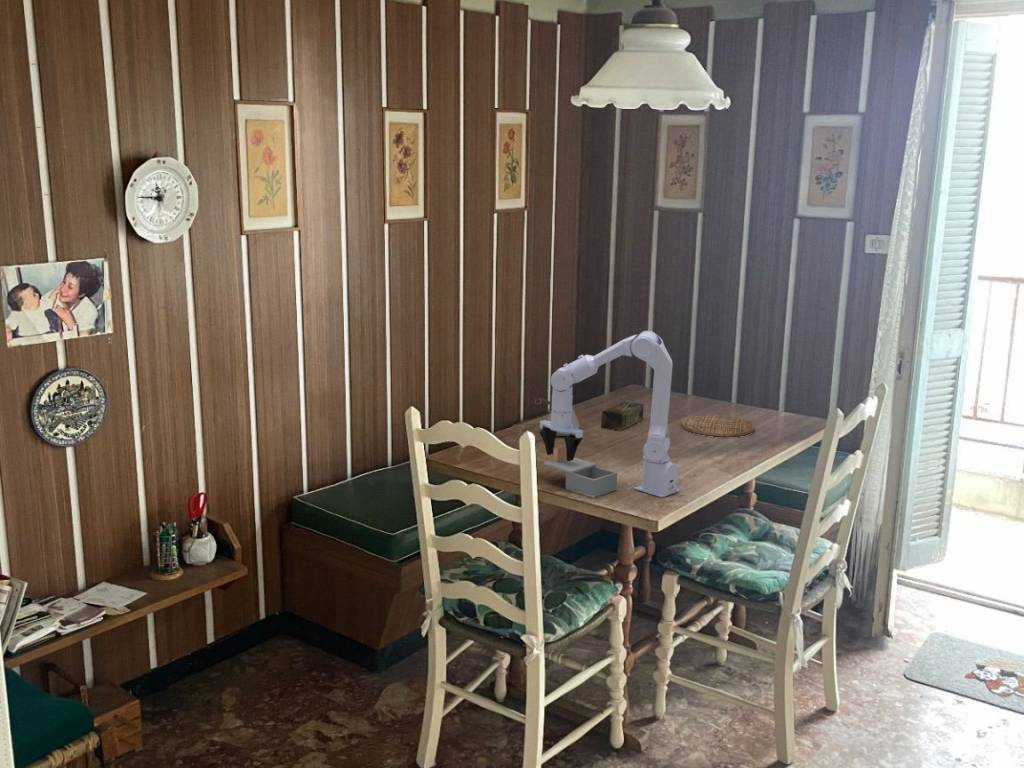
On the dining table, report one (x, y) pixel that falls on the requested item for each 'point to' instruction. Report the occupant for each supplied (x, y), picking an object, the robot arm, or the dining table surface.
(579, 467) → the lid
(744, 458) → the dining table surface
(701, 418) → the trivet
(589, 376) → the robot arm
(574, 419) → the coffee pot
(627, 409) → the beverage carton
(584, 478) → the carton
